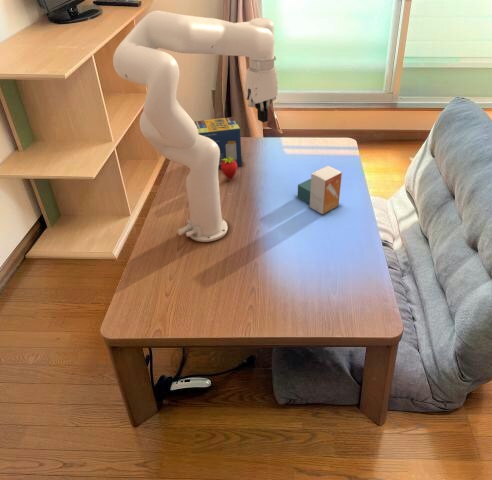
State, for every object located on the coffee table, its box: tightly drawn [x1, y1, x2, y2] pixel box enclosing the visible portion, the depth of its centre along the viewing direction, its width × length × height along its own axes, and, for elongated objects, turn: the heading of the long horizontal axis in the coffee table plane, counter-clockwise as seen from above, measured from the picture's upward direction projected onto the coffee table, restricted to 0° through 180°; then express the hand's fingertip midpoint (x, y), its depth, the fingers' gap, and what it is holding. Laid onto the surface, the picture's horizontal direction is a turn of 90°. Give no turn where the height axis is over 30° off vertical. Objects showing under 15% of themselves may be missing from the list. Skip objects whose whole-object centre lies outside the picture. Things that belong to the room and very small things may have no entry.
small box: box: [309, 165, 343, 215], centre depth 160 cm, size 8×6×13 cm
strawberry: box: [221, 156, 238, 181], centre depth 174 cm, size 6×8×10 cm
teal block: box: [297, 178, 311, 205], centre depth 167 cm, size 6×6×5 cm
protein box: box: [193, 116, 243, 170], centre depth 183 cm, size 10×15×16 cm
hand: (262, 120), depth 158 cm, fingers closed
